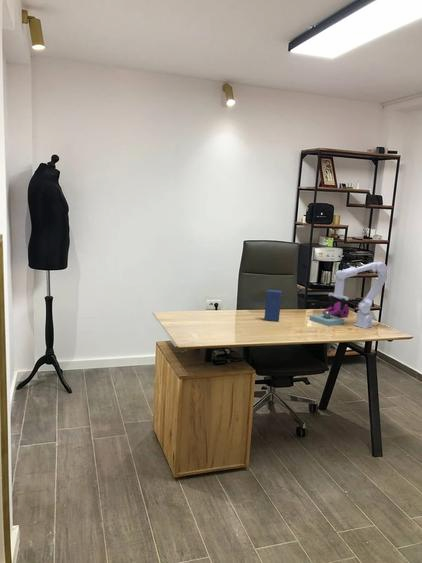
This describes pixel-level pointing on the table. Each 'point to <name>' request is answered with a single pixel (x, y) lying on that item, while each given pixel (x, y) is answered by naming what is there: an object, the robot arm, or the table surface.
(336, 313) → the purple faceted block
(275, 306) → the electronic device
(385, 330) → the table surface
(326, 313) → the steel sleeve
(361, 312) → the robot arm
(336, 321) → the plate
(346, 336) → the table surface
